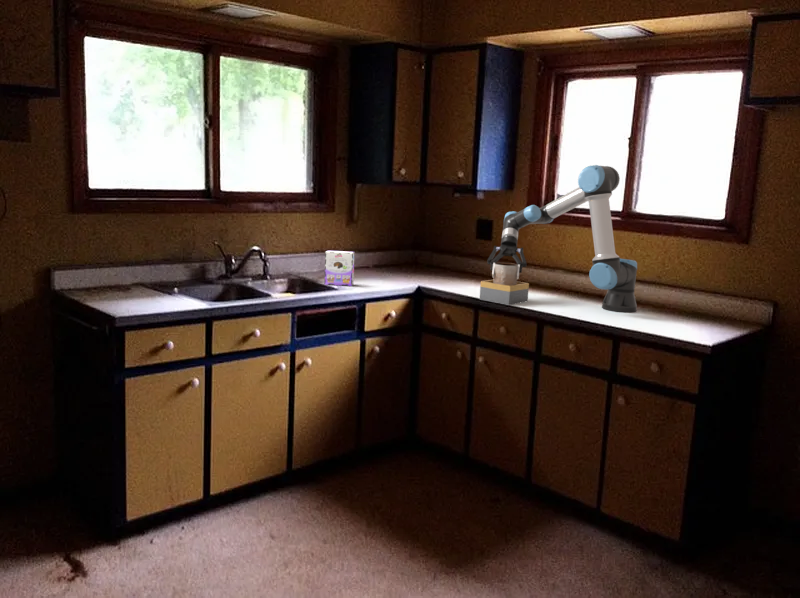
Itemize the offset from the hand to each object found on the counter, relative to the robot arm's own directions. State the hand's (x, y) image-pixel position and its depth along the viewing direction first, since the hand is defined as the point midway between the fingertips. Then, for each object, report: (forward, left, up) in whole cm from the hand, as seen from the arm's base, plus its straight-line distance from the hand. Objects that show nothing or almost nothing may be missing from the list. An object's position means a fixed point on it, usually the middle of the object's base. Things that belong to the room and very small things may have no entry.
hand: (505, 276), depth 341 cm
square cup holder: (+1, -3, -12) cm, 12 cm away
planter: (+2, -3, -4) cm, 5 cm away
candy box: (+74, +33, -12) cm, 82 cm away
